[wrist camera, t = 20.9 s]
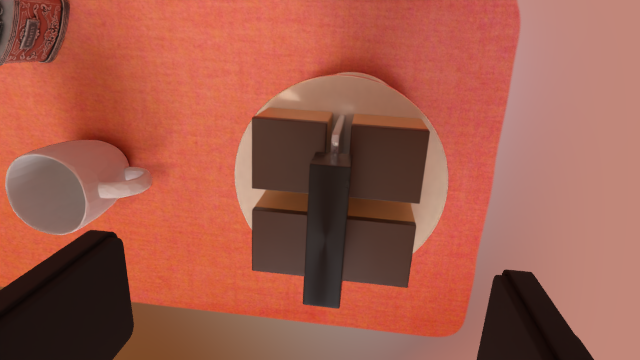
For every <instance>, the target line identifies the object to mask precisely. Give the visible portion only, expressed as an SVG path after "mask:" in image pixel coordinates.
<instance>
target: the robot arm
mask: <svg viewBox="0 0 640 360" xmlns="http://www.w3.org/2000/svg"><path fill="white" fill-rule="evenodd" d="M133 327H134V322H133V315H132V307H131V300H130V292H129V284H128V277H127V269H126V262H125V254H124V246H123V242H122V240H121V239H120V238H118V237H117V235H116V234H115V233H114V232H107V231H97V230H90V231H87V232H86V233H84V234H83V235H81V236H80V237H78V238H77V239H76V240H74V241H73V242H71V243H70V244H68V245H67V246H65V247H64V248H62V249H61V250H59V251H58V252H56V253H55V254H53V255H52V256H50V257H49V258H47V259H46V260H44V261H43V262H41V263H40V264H38V265H37V266H35V267H34V268H32V269H31V270H29V271H28V272H27V273H25V274H24V275H22V276H21V277H19V278H18V279H16V280H15V281H13V282H12V283H10V284H9V285H7V286H6V287H4V288H3V289H1V290H0V360H113V358H114V357H115V356H116V355H117V353H118V352H119V351H120V350H121V348H122V347H123V346H124V345H125V344H126V342H127V341H128V340H129V338H130V337H131V335H132V332H133ZM477 360H594V359H593V358H592V356H591V355H590V353H589V352H588V350H587V349H586V347H585V346H584V345H583V343H582V342H581V340H580V339H579V338H578V337H577V336H576V335H575V334H574V333H573V331H572V330H571V328H570V327H569V325H568V324H567V323H566V321H565V320H564V318H563V317H562V315H561V314H560V312H559V311H558V309H557V308H556V307H555V305H554V304H553V302H552V301H551V299H550V298H549V296H548V295H547V293H546V292H545V291H544V289H543V288H542V286H541V285H540V283H539V282H538V280H537V279H536V277H535V276H534V275H533V274H532V272H525V271H515V270H504V271H503V273H502V275H496V276H495V277H494V279H493V284H492V288H491V293H490V298H489V303H488V308H487V312H486V317H485V322H484V327H483V332H482V337H481V341H480V346H479V351H478V356H477Z"/></svg>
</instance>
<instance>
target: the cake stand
mask: <svg viewBox="0 0 640 360" xmlns="http://www.w3.org/2000/svg"><path fill="white" fill-rule="evenodd" d="M267 108H283V109H297V110H310V111H324V112H332V113H333V117H332V133H333V131H334V128H335V126H336V124H337V121H338V119H339V116H340V115H346V121H345V134H344V147H343V154H349V150H350V138H351V126H352V122H353V117H354V114H365V115H379V116H392V117H406V118H419V119H422V120H423V122H424V123H425V125H426V126H427V128H428V130H429V131H430V136H429V143H428V150H427V157H426V164H425V171H424V178H423V185H422V192H421V198H420V204H415V203H411V207H412V211H413V215H414V219H415V223H416V233H415V240H414V247H413V253H414V252H415V251H416V250H417V249H418V248H419V247H420V246H422V244H423V243H424V242H425V241H426V240H427V238H428V237H429V236H430V235H431V233H432V231H433V230H434V228H435V227H436V225H437V223H438V221H439V219H440V217H441V214H442V212H443V209H444V205H445V202H446V198H447V191H448V167H447V160H446V156H445V152H444V149H443V146H442V143H441V141H440V139H439V136H438V134H437V132H436V130H435V129H434V127H433V126H432V124H431V123H430V121H429V119H428V118H427V117H426V116H425V115H424V113H423V112H422V111H421V110H420V109H419V108H418V106H416V105H415V104H414V103H413V102H412V101H411V100H410V99H409V98H407V97H406V96H405V95H403V94H402V93H400V92H399V91H397V90H396V89H394V88H392V87H390V86H389V85H388V84H387V83H385V82H384V81H382V80H381V79H379V78H377V77H375V76H373V75H370V74H366V73H362V72H351V71H349V72H340V73H336V74H332V75H324V76H319V77H314V78H310V79H307V80H304V81H301V82H299V83H296V84H294V85H292V86H290V87H288V88H286V89H285V90H283V91H281V92H279V93H278V94H277V95H275V96H274V97H273V98H271V99H270V100H269V101H268V102H267V103H266V104H265V105H264V106H263V107H262V108H261V109H260V110H259V111H258V112H257V113H256V115H258V114H259V113H261V112H262V111H264V110H265V109H267ZM256 115H255V116H256ZM332 133H331V141H332ZM330 153H331V149H330ZM235 187H236V193H237V198H238V201H239V204H240V207H241V210H242V212H243V215H244V217H245V219H246V221H247V223H248V224H249V226H250V227H251V229H252V209H253V208H254V207H255V205H256V204H257V202H258V201H259V199H260V198H261V197H262V195H263V194H264V192H265V191H266V190H263V189H253V188H252V120H251V121H250V123H249V125H248V126H247V128H246V130H245V132H244V134H243V136H242V139H241V141H240V144H239V147H238V151H237V155H236V162H235Z"/></svg>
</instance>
